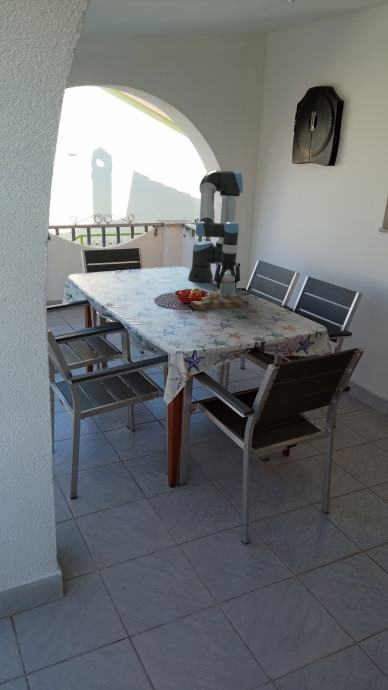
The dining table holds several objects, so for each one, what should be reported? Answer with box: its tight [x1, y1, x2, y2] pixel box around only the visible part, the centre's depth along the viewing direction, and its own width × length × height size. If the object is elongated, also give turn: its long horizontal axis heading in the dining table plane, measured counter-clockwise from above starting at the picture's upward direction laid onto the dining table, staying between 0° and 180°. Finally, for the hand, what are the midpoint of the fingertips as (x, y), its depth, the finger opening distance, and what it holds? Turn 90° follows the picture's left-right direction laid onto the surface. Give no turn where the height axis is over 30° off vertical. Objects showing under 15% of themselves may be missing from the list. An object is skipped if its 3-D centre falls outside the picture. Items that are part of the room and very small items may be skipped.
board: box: [188, 295, 249, 311], centre depth 263 cm, size 30×10×3 cm, turn 116°
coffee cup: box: [221, 273, 235, 297], centre depth 275 cm, size 8×8×12 cm
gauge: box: [200, 291, 222, 303], centre depth 258 cm, size 12×6×4 cm, turn 126°
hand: (225, 294), depth 277 cm, fingers closed on coffee cup, 8 cm apart
